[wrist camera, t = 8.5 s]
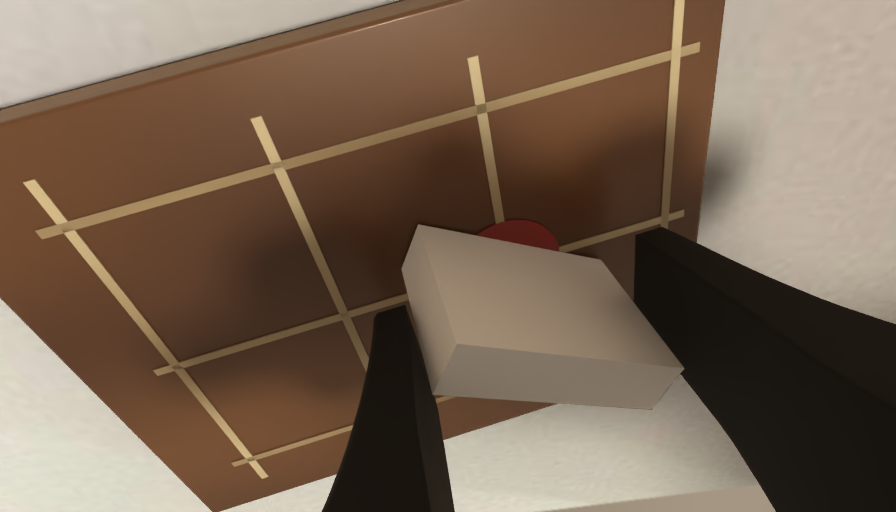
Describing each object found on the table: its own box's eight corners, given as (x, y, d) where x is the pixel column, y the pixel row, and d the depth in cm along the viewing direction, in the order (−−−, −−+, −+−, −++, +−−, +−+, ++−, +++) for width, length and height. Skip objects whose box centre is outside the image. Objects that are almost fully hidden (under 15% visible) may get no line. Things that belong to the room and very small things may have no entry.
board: (666, 342, 17) (684, 365, 16) (217, 483, 17) (213, 516, 16) (701, -82, 10) (738, -78, 9) (-101, 136, 9) (-141, 162, 8)
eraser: (578, 297, 14) (652, 411, 11) (400, 268, 12) (430, 395, 9) (601, 259, 13) (686, 368, 10) (417, 222, 11) (456, 342, 8)
